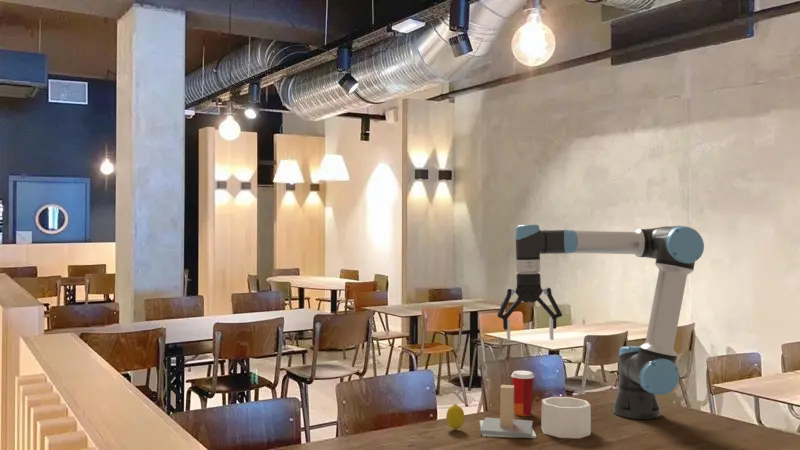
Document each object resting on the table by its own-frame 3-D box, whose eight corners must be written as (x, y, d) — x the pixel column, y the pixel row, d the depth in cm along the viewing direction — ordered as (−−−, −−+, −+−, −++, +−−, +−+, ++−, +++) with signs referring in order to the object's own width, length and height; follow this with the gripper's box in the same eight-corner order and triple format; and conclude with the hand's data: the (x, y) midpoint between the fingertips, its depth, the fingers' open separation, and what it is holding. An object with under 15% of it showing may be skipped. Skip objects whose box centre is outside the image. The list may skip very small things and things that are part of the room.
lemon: (452, 433, 211) (452, 407, 211) (442, 429, 216) (443, 403, 216) (467, 431, 214) (467, 405, 214) (458, 426, 219) (458, 401, 219)
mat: (529, 423, 224) (529, 421, 224) (536, 438, 208) (536, 436, 208) (479, 422, 225) (479, 420, 225) (482, 436, 209) (482, 434, 209)
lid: (532, 423, 221) (532, 382, 221) (530, 437, 206) (531, 393, 207) (485, 420, 224) (485, 380, 225) (480, 433, 210) (480, 390, 210)
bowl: (584, 425, 221) (584, 397, 222) (593, 438, 207) (593, 408, 208) (539, 424, 222) (539, 396, 222) (545, 437, 208) (546, 407, 208)
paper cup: (533, 411, 239) (533, 370, 239) (535, 417, 231) (535, 375, 232) (509, 410, 240) (510, 369, 240) (511, 416, 232) (511, 374, 232)
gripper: (490, 274, 219) (491, 342, 219) (570, 272, 218) (571, 340, 218) (488, 273, 226) (489, 338, 226) (565, 271, 225) (567, 337, 225)
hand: (530, 339), depth 222 cm, fingers open, 13 cm apart
